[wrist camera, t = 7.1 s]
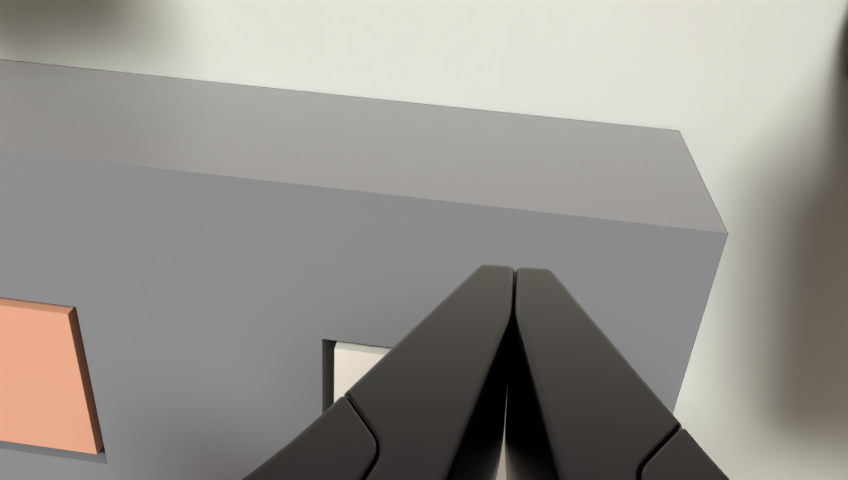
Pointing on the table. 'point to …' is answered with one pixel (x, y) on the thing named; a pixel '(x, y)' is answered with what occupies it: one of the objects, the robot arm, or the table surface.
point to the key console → (312, 246)
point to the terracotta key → (45, 378)
